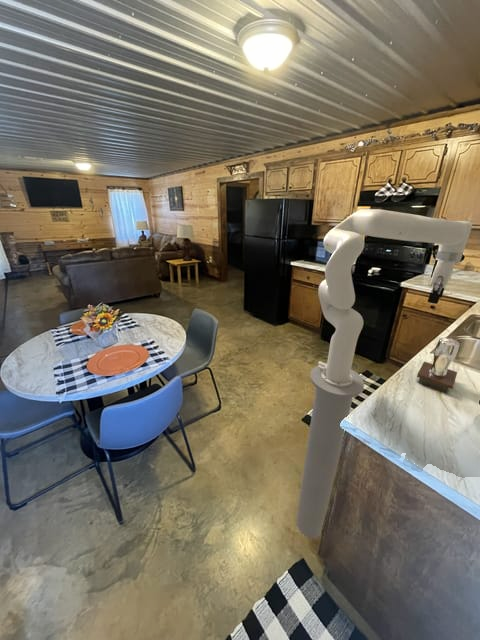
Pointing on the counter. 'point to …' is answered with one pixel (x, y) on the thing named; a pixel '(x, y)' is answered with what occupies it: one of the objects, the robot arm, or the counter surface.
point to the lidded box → (436, 378)
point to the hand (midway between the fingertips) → (434, 299)
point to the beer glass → (443, 356)
